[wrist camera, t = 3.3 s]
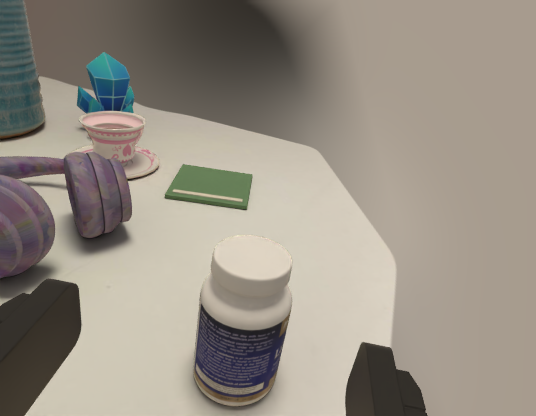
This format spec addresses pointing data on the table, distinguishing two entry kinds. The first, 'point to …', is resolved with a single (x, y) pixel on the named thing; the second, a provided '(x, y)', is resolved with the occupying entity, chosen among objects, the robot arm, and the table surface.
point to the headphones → (39, 214)
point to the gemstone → (107, 87)
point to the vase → (18, 73)
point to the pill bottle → (242, 319)
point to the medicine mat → (211, 187)
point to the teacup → (119, 140)
